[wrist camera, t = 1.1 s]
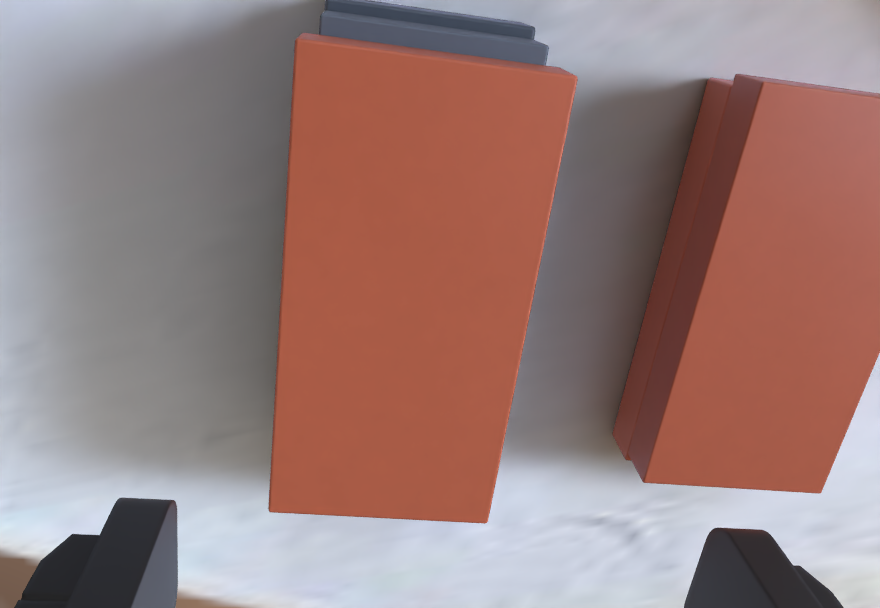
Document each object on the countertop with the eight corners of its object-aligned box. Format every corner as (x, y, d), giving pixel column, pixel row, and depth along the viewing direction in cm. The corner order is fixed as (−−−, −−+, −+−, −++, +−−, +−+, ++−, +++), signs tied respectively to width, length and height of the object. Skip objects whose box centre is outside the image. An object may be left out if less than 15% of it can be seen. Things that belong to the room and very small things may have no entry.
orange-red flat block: (710, 66, 22) (762, 81, 19) (902, 93, 23) (980, 111, 20) (611, 434, 27) (640, 490, 24) (771, 445, 28) (818, 501, 25)
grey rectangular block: (329, -6, 20) (321, -1, 17) (523, 22, 21) (552, 32, 18) (297, 438, 26) (286, 506, 22) (450, 448, 26) (462, 515, 23)
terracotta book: (301, 31, 17) (294, 38, 16) (562, 67, 18) (579, 76, 16) (274, 477, 22) (267, 513, 21) (480, 489, 23) (487, 524, 21)
